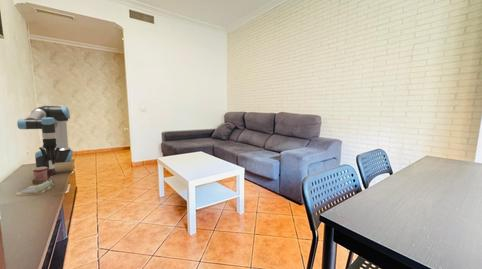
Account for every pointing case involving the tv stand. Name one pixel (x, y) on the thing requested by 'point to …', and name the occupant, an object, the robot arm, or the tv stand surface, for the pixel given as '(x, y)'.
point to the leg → (44, 185)
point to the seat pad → (28, 190)
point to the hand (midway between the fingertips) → (51, 168)
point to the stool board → (35, 184)
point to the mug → (41, 174)
